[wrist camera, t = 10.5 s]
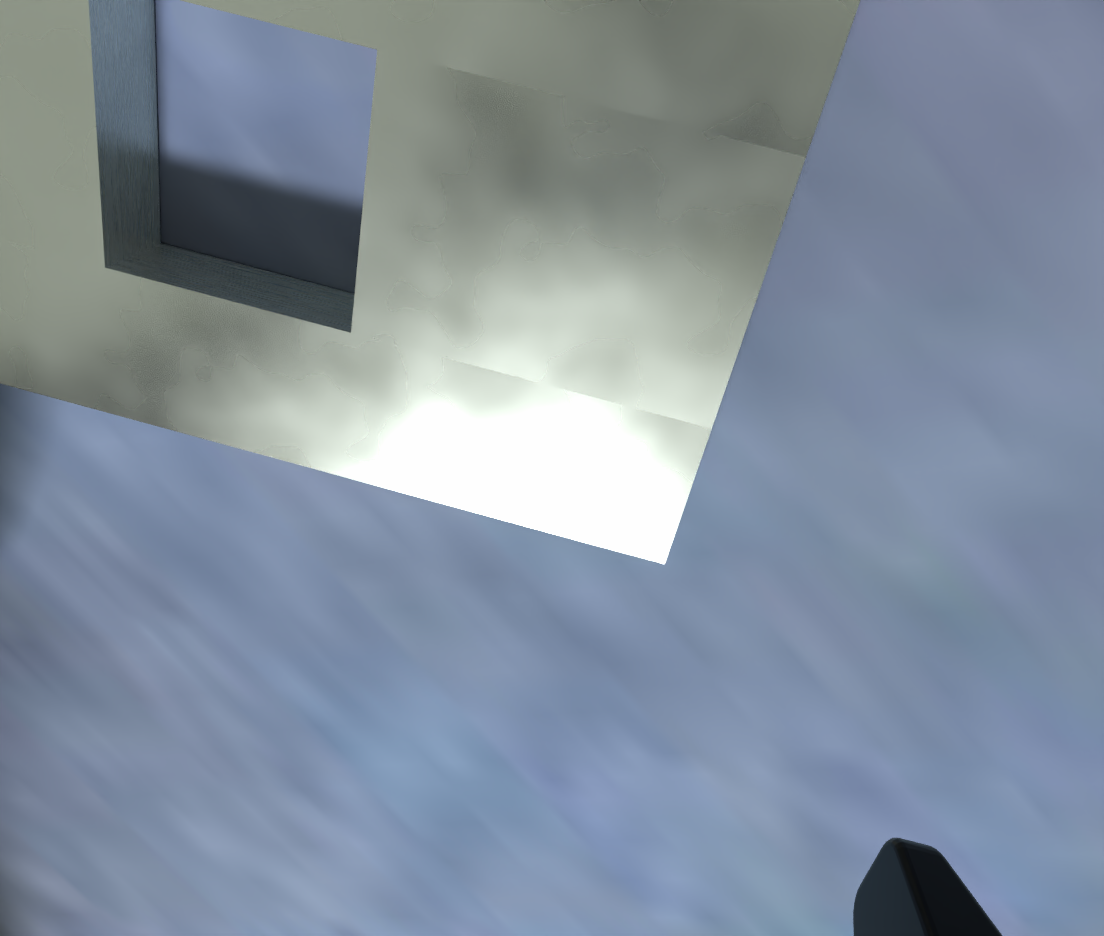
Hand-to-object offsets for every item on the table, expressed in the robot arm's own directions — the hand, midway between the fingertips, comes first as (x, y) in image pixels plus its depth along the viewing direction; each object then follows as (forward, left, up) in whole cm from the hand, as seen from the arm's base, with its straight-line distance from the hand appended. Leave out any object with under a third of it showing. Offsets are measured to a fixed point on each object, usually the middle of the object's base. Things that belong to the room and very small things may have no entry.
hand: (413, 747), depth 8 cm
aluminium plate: (-7, +2, -12) cm, 14 cm away
